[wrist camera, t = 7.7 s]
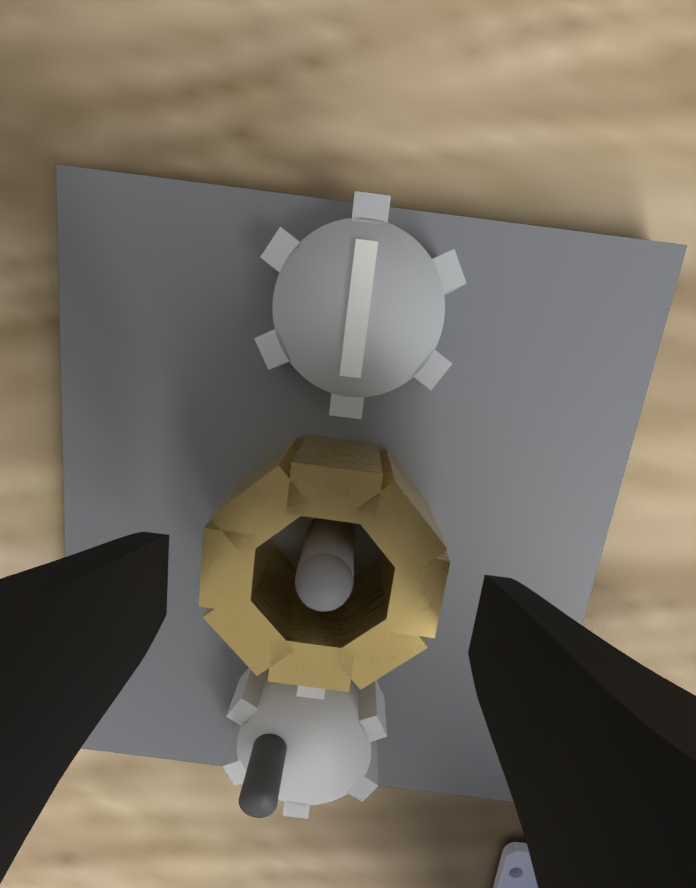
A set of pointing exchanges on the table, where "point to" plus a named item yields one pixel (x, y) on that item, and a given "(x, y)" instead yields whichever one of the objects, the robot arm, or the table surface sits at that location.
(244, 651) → the brass gear
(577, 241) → the gear board
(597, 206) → the table surface
